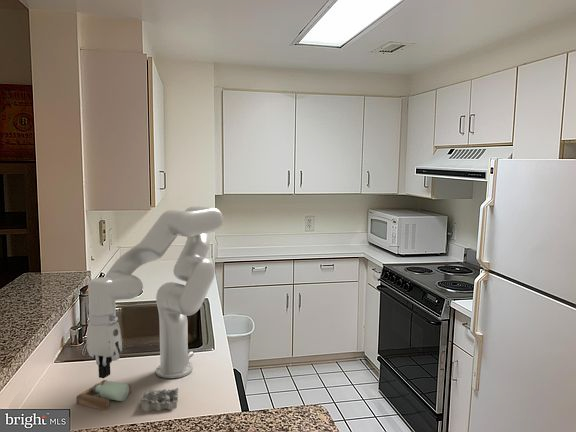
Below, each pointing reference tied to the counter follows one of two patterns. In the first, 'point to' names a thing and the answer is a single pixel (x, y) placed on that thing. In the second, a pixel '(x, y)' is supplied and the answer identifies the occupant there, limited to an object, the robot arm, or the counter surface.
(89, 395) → the rest
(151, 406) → the egg carton
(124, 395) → the bottle
